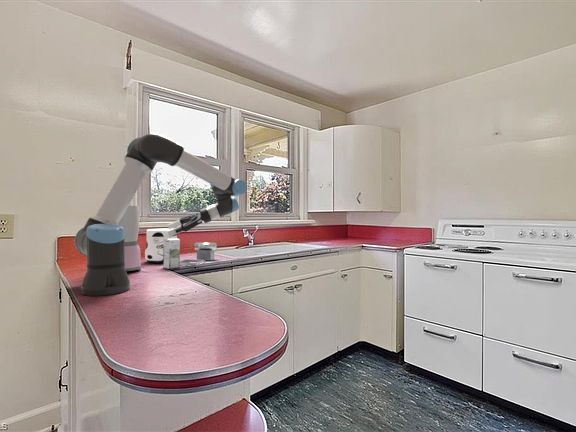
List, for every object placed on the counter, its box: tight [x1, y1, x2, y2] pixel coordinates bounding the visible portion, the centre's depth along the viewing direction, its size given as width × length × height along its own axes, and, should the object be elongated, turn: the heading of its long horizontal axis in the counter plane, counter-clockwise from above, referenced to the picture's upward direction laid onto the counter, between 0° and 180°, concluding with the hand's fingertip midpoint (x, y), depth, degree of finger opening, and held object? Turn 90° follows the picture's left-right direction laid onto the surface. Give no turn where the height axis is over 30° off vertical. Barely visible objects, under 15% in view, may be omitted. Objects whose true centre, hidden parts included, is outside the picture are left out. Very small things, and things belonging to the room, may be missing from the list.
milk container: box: [144, 228, 178, 264], centre depth 176 cm, size 17×17×18 cm
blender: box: [118, 202, 142, 272], centre depth 147 cm, size 16×12×32 cm
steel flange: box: [180, 259, 205, 267], centre depth 168 cm, size 12×12×2 cm
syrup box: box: [162, 237, 181, 270], centre depth 158 cm, size 6×6×14 cm
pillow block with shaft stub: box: [193, 242, 218, 261], centre depth 182 cm, size 6×12×10 cm, turn 84°
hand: (168, 230), depth 157 cm, fingers open, 13 cm apart
